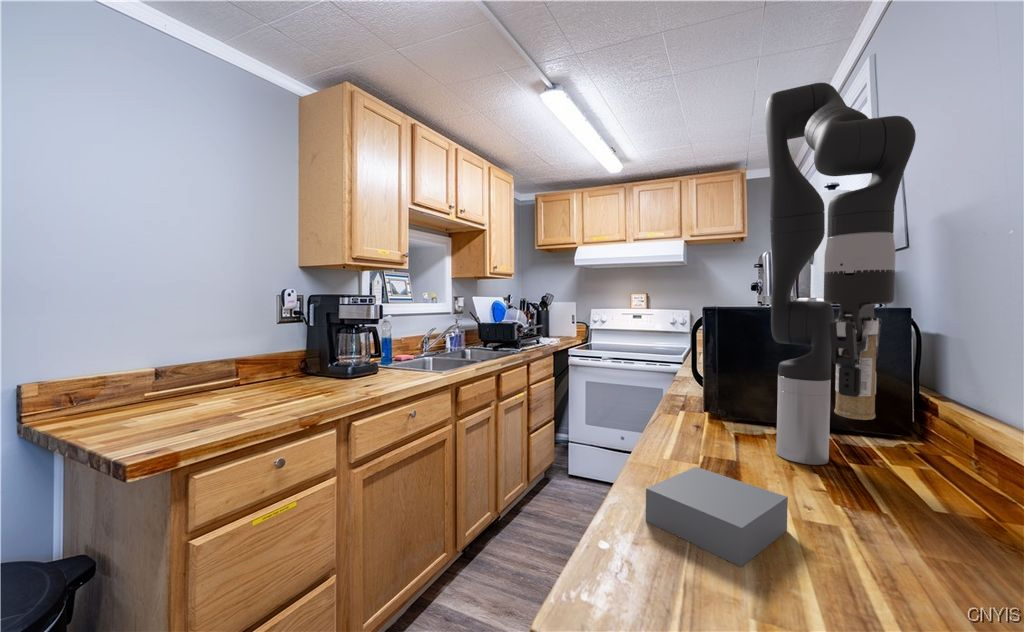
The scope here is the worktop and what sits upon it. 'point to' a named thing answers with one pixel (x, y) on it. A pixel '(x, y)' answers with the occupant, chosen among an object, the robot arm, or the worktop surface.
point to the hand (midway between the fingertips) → (854, 392)
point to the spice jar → (865, 402)
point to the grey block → (718, 513)
